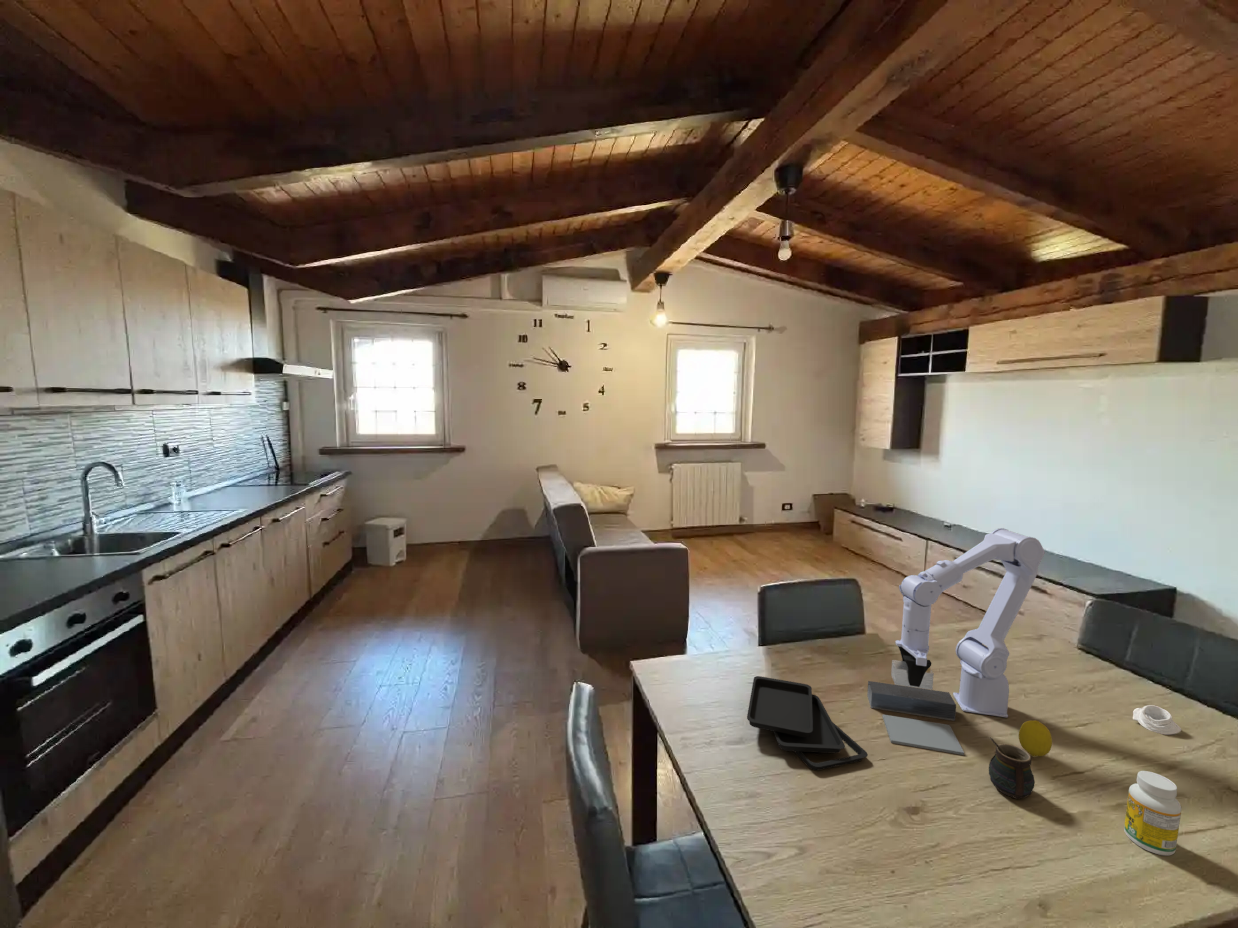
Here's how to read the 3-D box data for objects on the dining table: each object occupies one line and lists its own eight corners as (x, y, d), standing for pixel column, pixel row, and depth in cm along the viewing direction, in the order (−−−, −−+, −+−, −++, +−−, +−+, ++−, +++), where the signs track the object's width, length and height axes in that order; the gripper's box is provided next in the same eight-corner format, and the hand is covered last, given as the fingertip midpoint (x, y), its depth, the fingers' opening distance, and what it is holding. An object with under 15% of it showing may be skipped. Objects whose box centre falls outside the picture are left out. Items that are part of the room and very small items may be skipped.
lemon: (1043, 750, 114) (1047, 716, 113) (1054, 767, 109) (1058, 731, 108) (1012, 745, 116) (1016, 710, 115) (1022, 761, 111) (1026, 725, 110)
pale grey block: (927, 679, 130) (928, 662, 129) (932, 689, 126) (933, 671, 125) (891, 674, 132) (892, 657, 132) (894, 684, 128) (896, 666, 127)
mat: (949, 727, 122) (949, 724, 122) (963, 755, 113) (964, 752, 112) (882, 716, 126) (882, 714, 126) (890, 742, 116) (891, 740, 116)
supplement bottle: (1177, 863, 86) (1187, 800, 85) (1124, 842, 90) (1132, 781, 89) (1172, 839, 91) (1181, 778, 90) (1121, 820, 95) (1129, 762, 94)
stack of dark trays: (885, 756, 112) (886, 733, 112) (802, 790, 102) (804, 765, 102) (783, 687, 139) (784, 668, 138) (710, 709, 129) (711, 689, 128)
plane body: (947, 707, 130) (948, 692, 129) (954, 720, 125) (956, 704, 124) (867, 695, 135) (868, 680, 134) (870, 707, 130) (872, 692, 129)
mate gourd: (1041, 806, 98) (1047, 757, 97) (996, 800, 100) (1001, 751, 99) (1021, 780, 105) (1026, 733, 104) (978, 774, 107) (983, 728, 106)
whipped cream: (1178, 731, 123) (1183, 711, 122) (1181, 742, 118) (1186, 721, 117) (1130, 714, 128) (1135, 695, 128) (1131, 724, 123) (1136, 705, 123)
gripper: (891, 612, 135) (887, 663, 137) (904, 637, 121) (900, 692, 123) (922, 616, 133) (918, 667, 135) (938, 641, 119) (934, 697, 121)
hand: (911, 679), depth 129 cm, fingers closed on pale grey block, 5 cm apart
